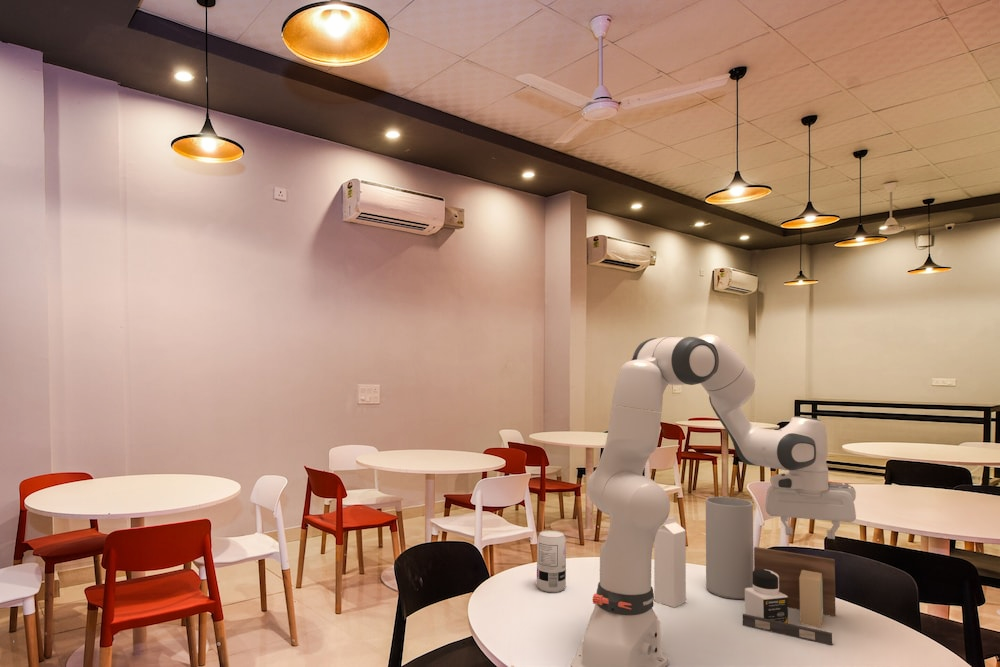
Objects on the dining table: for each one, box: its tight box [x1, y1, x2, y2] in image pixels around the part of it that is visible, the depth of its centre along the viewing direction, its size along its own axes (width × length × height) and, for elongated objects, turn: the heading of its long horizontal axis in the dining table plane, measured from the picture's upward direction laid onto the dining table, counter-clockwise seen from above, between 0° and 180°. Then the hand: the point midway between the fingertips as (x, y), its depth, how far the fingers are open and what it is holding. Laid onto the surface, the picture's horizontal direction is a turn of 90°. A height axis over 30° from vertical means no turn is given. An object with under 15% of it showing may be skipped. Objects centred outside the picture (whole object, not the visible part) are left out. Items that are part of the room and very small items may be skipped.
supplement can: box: [536, 529, 567, 593], centre depth 167 cm, size 8×8×15 cm
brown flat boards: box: [742, 546, 837, 646], centre depth 147 cm, size 20×19×14 cm
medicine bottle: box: [744, 569, 789, 623], centre depth 146 cm, size 7×7×12 cm
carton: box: [799, 570, 824, 628], centre depth 147 cm, size 5×7×11 cm
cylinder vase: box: [705, 496, 754, 600], centre depth 166 cm, size 12×12×25 cm
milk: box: [653, 516, 687, 608], centre depth 158 cm, size 6×6×22 cm
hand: (809, 536), depth 148 cm, fingers open, 8 cm apart
